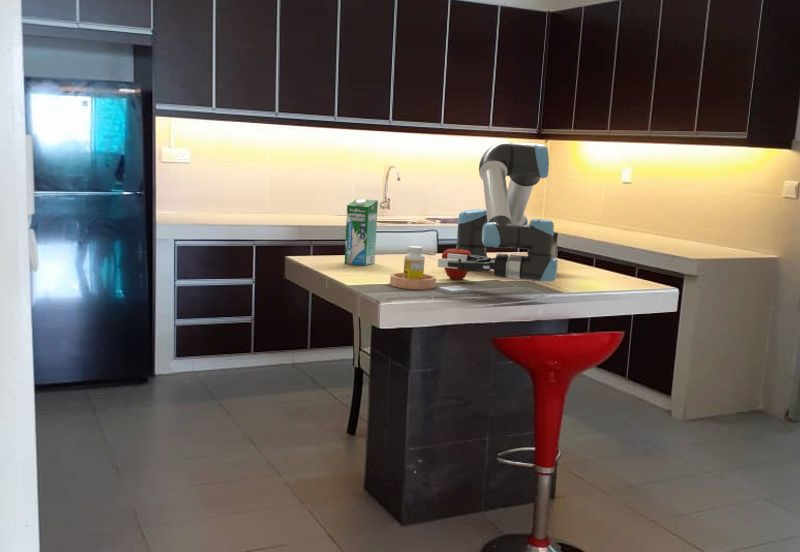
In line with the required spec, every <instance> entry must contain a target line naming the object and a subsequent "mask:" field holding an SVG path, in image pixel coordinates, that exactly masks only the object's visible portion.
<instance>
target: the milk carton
mask: <svg viewBox="0 0 800 552" xmlns="http://www.w3.org/2000/svg"><path fill="white" fill-rule="evenodd" d="M378 205H379V201H378V200H376V199H375V200H374V199H365V198H364V199H363V198H355V200H353V201H352V202H350V203H348V204H347V205H346V221H345V222H346V225H345V245H344V246H345V247H344V264H347V265H349V264H350V265H357V266H369V265H372V264H376V243H377V225H378Z"/></svg>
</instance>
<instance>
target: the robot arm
mask: <svg viewBox="0 0 800 552" xmlns="http://www.w3.org/2000/svg"><path fill="white" fill-rule="evenodd" d="M549 166H550V157H549V148H548V147H547V145H545V144H542V143H533V142H532V143H531V142H530V143H529V142H511V141H509V142H508V141H501V142H498V143H495V144H494V145H492V146H490V147H489V148H487V150H486V151H485V152H484V153H483V155H482V157H481V158H480V161H479V164H478V173H479V174H478V175H479V178H480V179H481V180H482V183H483V194H484V200H485V201H484V203H485V208H480V209H467V210H462V211H460V213H459V214H458V221H457V235H456V247H455V249H458V247H459V249H463V250H467V251H470V253H471V254H472V255H468V257H467V255H460V254H449V253H448V255H447V259H442V257H441V258H438V259H437V267H438V268H444V269H445V268H454V269H459V270H469V271H476V272H477V271H478V272H480V271H481V272H490V270H493V275H494V277H495V278H509V279H514V281H517V280H519V279H520V280H526V281H534V282H540V283H541V282H548V283H549V282H551V283H552V282H554V281H555V280H556V279H557V273H558V264H559V263H558V259H557V258H555V259H554V258H552V255H551V254H552V244H553V236H554V234H553V233H554V232H555V231H554V229H555V228H554V225H555V224H554V222H553V221H552V220H551V219H544V218H543V219H542V218H532V219H530V221H528V218H527V215H525V211H526V208H527V204H528V202H529V200H530V199H529V198H530V197H531V194H532V193H531V192H532V190H533V188H534V186H536V184H538V183H539V182H540V180H541V179H546V178H547V177H548V176H549V169H550V167H549ZM506 177H509V178H510V180H509V183H508V187H507V181H506ZM486 247H489V248H495V249H496V248H499V249H501V248H502V249H503V248H504V249H520V250H521V249H522V250H523V249H524V250H527V252H526V253H527V255H522V254H510V255H508V254H506V253H496V255H495V257H488V253H487V250H486V249H487V248H486Z"/></svg>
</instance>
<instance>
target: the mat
mask: <svg viewBox="0 0 800 552" xmlns="http://www.w3.org/2000/svg"><path fill="white" fill-rule="evenodd" d="M430 290H432V291H434V292H437V293H440V294H443V295H446V296H448V295H453V294H450V293H446V292H443V291H439V288H438V289H437V288H436V289H435V288H432V289H430ZM467 294H468V295H470V294H477V292H475V291H472V290H470V292H467V293H455V294H454V295H467Z"/></svg>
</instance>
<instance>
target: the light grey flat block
mask: <svg viewBox="0 0 800 552" xmlns="http://www.w3.org/2000/svg"><path fill="white" fill-rule="evenodd" d="M438 289H439V291H443V292H446V293H450V294H452V295H456V294H455V293H467V292H470V291H471V288H467V287H463V286H460V285H451V286H450V285H449V286H441V287H440V286H439V287H438Z"/></svg>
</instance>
